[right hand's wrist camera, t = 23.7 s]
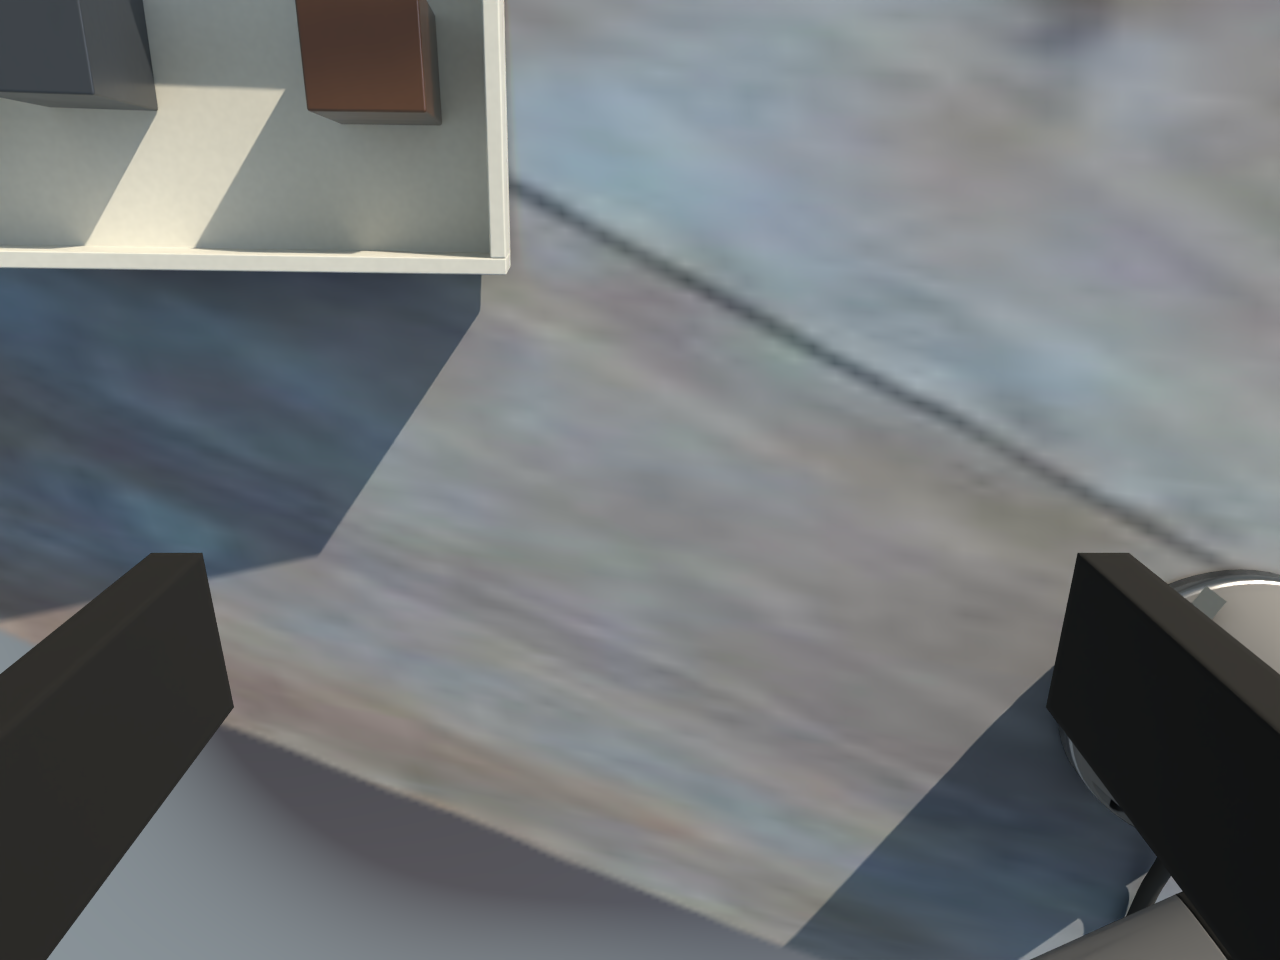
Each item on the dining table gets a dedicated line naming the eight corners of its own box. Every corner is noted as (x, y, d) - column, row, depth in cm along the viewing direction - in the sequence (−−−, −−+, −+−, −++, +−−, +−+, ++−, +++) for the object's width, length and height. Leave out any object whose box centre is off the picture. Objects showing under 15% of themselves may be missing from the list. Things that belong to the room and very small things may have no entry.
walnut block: (442, 125, 34) (426, 112, 29) (339, 124, 33) (306, 111, 29) (435, 13, 33) (417, -19, 28) (328, 11, 32) (291, -23, 27)
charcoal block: (159, 111, 33) (94, 95, 28) (48, 107, 32) (-37, 90, 27) (143, -6, 31) (71, -44, 27) (27, -12, 31) (-66, -51, 26)
